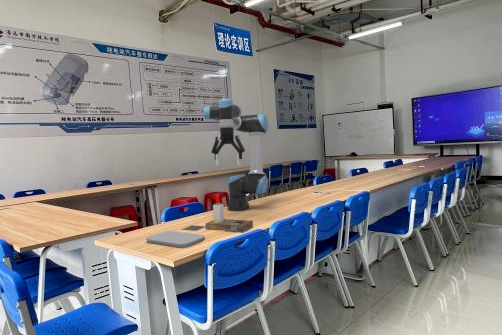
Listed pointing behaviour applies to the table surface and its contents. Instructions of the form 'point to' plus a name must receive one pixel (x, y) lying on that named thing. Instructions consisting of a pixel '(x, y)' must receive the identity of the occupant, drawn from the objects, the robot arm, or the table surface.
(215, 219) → the grey upright block
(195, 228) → the mat
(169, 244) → the tablet
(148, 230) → the table surface
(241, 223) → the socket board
